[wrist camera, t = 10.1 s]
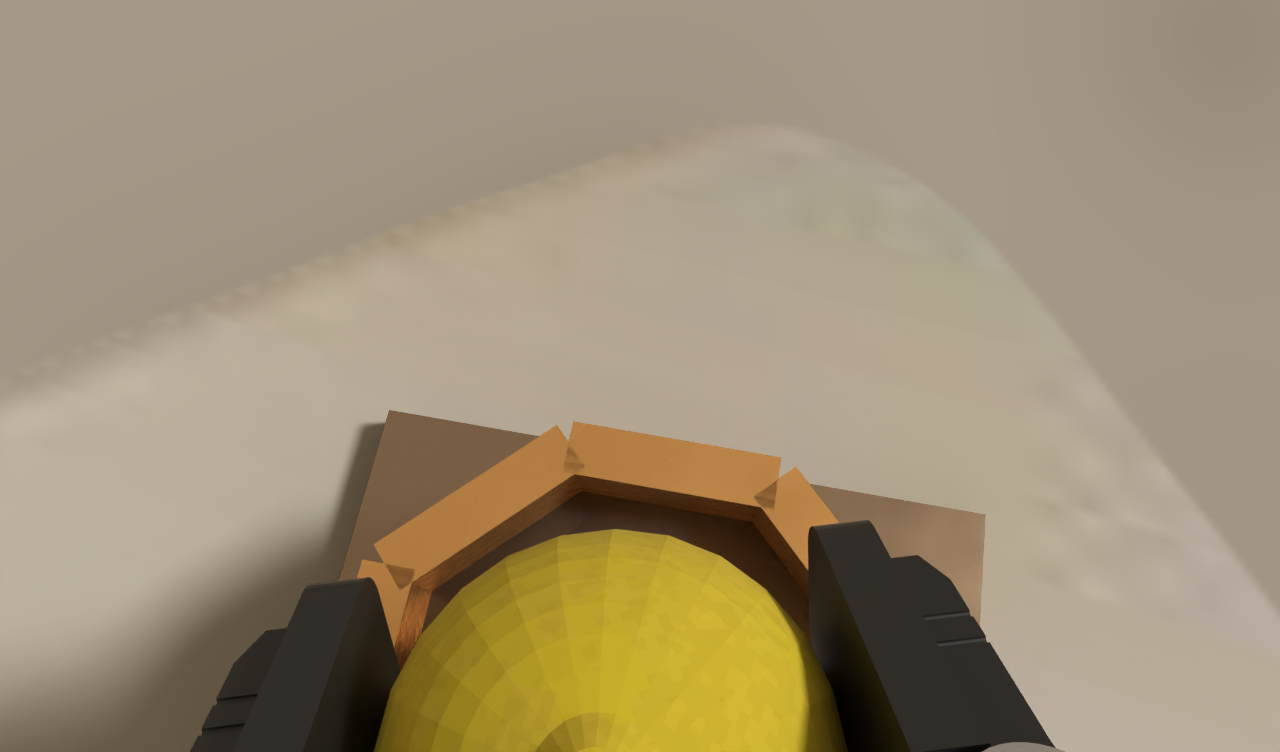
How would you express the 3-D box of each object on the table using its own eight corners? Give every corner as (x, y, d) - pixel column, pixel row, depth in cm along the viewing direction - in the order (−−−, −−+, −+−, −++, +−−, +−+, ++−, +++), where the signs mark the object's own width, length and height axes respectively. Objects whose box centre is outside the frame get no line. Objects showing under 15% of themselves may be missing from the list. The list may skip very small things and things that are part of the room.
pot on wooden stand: (247, 945, 20) (29, 1080, 13) (399, 420, 25) (295, 313, 18) (938, 1103, 19) (1103, 1346, 12) (972, 521, 23) (1108, 449, 16)
